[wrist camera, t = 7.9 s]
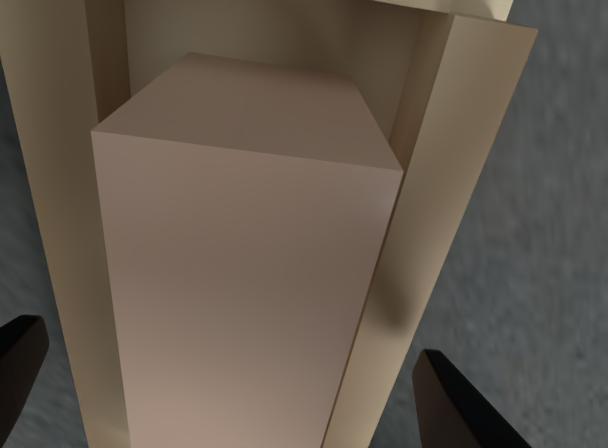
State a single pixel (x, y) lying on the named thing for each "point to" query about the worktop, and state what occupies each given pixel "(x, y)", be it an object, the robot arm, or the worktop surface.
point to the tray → (278, 51)
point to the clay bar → (239, 248)
